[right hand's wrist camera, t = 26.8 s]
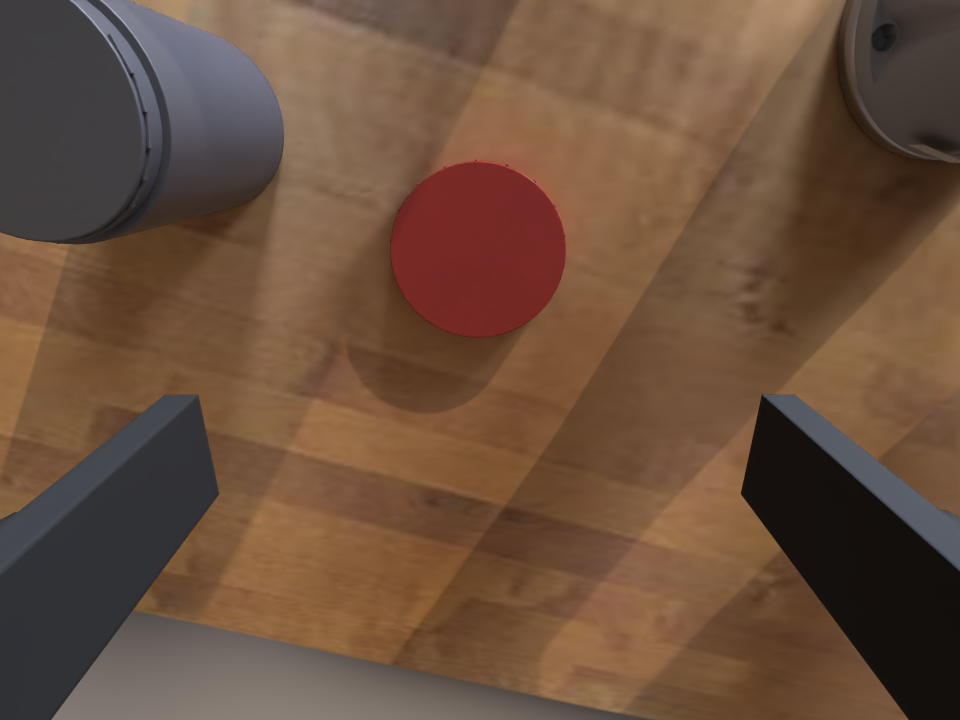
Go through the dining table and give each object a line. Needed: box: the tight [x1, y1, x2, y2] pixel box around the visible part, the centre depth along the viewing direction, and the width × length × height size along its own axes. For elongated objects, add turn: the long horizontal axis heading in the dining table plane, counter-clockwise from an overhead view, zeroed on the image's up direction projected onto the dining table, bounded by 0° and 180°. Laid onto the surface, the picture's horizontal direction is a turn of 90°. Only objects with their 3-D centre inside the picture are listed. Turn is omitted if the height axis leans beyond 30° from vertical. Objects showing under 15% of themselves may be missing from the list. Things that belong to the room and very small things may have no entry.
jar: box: [0, 0, 284, 244], centre depth 27 cm, size 10×10×15 cm
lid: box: [391, 160, 566, 337], centre depth 36 cm, size 11×12×2 cm
